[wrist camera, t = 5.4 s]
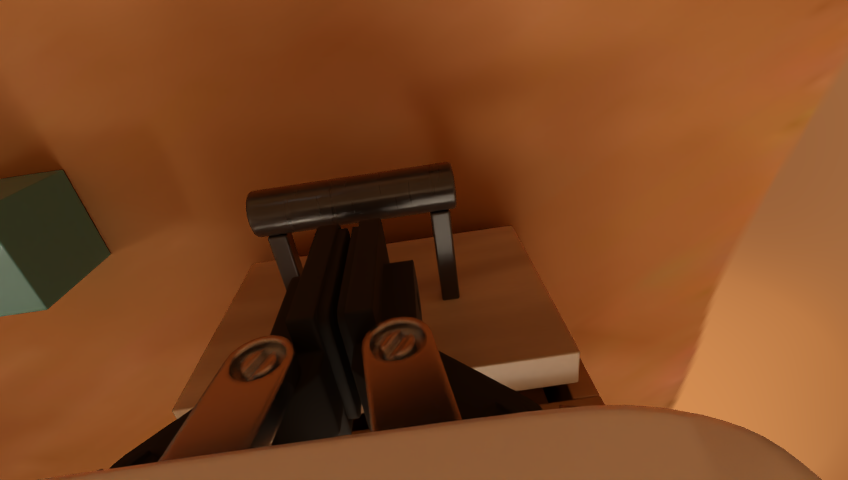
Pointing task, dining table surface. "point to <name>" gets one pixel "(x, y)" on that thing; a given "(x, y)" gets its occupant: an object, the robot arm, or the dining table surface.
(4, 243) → the block
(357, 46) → the dining table surface
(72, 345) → the dining table surface
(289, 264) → the drawer
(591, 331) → the dining table surface
